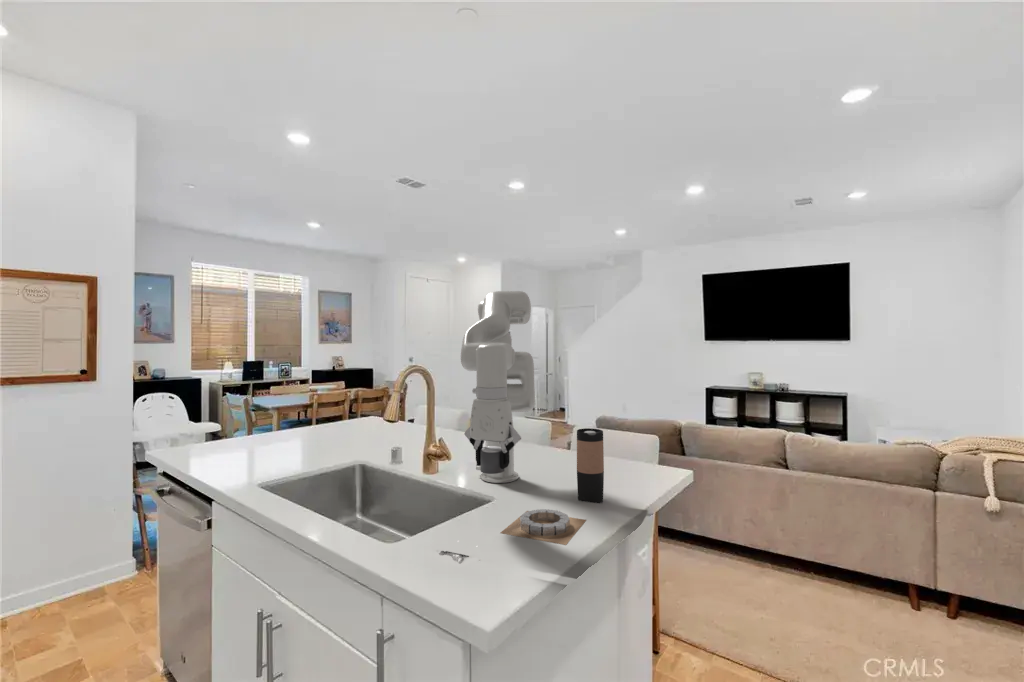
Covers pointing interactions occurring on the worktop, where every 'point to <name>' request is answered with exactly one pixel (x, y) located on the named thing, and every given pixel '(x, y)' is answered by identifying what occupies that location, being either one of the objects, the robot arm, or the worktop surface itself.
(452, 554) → the acanthus leaf ornament
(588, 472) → the travel mug
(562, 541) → the board
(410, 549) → the worktop surface
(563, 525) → the grey segmented ring
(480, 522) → the worktop surface
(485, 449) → the cap
